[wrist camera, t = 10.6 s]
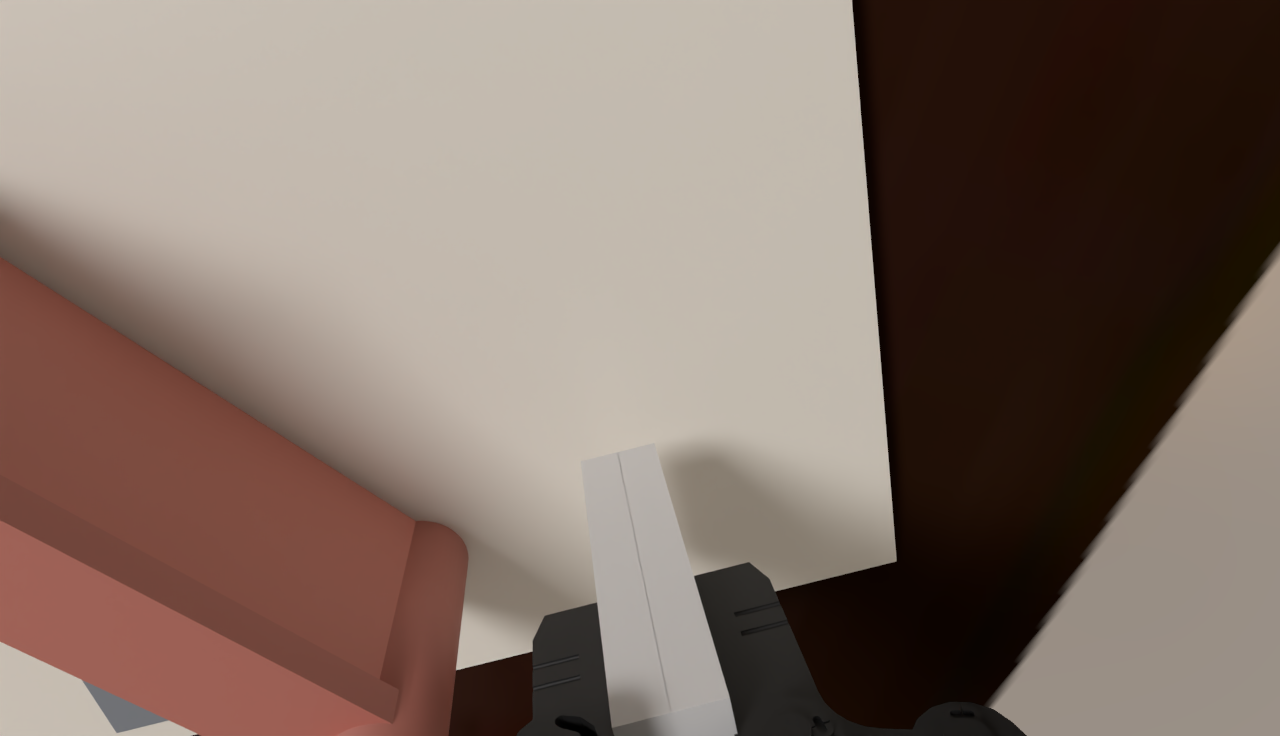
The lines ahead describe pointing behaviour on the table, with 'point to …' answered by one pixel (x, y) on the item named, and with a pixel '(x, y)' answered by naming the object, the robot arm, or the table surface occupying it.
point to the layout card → (475, 266)
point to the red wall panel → (205, 548)
